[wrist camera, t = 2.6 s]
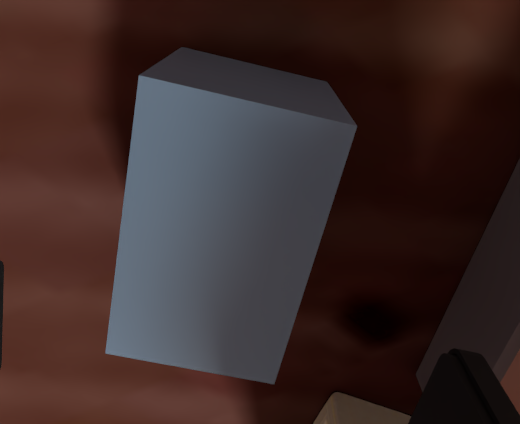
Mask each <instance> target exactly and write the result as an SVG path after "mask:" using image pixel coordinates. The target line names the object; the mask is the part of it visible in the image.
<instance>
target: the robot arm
mask: <svg viewBox="0 0 520 424" xmlns="http://www.w3.org/2000/svg"><path fill="white" fill-rule="evenodd" d="M3 280H4V265H3V262H2V261H0V368H1V360H2V320H3ZM408 424H520V415H519V413H518V411H517V410H516V408H515V407H514V405H513V403H512V402H511V400H510V398H509V397H508V395H507V394H506V392H505V390H504V389H503V387H502V385H501V384H500V382H499V381H498V379H497V377H496V376H495V374H494V372H493V371H492V369H491V368H490V366H489V364H488V363H487V361H486V359H485V358H484V357H483V356H482V354H479V353H476V352H471V351H466V350H461V349H456V348H454V349H451V350H450V351H449V352H448V353H443V354H442V355H440V357H439V359H438V361H437V363H436V365H435V367H434V369H433V372H432V374H431V376H430V378H429V380H428V382H427V384H426V386H425V389H424V391H423V393H422V395H421V397H420V399H419V401H418V403H417V406H416V408H415V410H414V412H413V414H412V416H411V418H410V420H409V423H408Z"/></svg>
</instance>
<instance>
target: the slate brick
mask: <svg viewBox="0 0 520 424" xmlns="http://www.w3.org/2000/svg"><path fill="white" fill-rule="evenodd" d="M356 129H357V125H356V123H355V122H354V120H353V119H352V118H351V116H350V115H349V113H348V112H347V110H346V109H345V107H344V106H343V104H342V103H341V101H340V100H339V98H338V97H337V95H336V94H335V92H334V91H333V89H332V88H331V87H330V85H329V84H328V82H326V81H322V80H318V79H314V78H309V77H305V76H301V75H297V74H293V73H289V72H285V71H280V70H276V69H272V68H268V67H264V66H260V65H255V64H251V63H247V62H243V61H239V60H235V59H231V58H226V57H222V56H218V55H214V54H210V53H206V52H201V51H197V50H193V49H189V48H185V47H181V48H179V49H178V50H176V51H175V52H173V53H172V54H170V55H169V56H167V57H166V58H164V59H163V60H161V61H160V62H158V63H157V64H155V65H154V66H152V67H150V68H149V69H147V70H146V71H144V72H143V73H141V74H140V75H139V78H138V86H137V95H136V103H135V111H134V120H133V128H132V136H131V145H130V153H129V161H128V170H127V178H126V186H125V195H124V203H123V211H122V220H121V228H120V236H119V245H118V253H117V261H116V270H115V278H114V286H113V295H112V303H111V311H110V319H109V328H108V336H107V344H106V354H111V355H117V356H122V357H128V358H133V359H139V360H144V361H150V362H155V363H160V364H166V365H171V366H177V367H182V368H188V369H193V370H199V371H204V372H209V373H215V374H220V375H226V376H231V377H237V378H242V379H248V380H253V381H258V382H264V383H269V384H275V380H276V377H277V374H278V371H279V368H280V365H281V362H282V359H283V356H284V353H285V349H286V346H287V343H288V340H289V337H290V334H291V331H292V328H293V325H294V321H295V318H296V315H297V312H298V309H299V306H300V303H301V300H302V297H303V293H304V290H305V287H306V284H307V281H308V278H309V275H310V272H311V269H312V265H313V262H314V259H315V256H316V253H317V250H318V247H319V244H320V241H321V238H322V234H323V231H324V228H325V225H326V222H327V219H328V216H329V213H330V210H331V206H332V203H333V200H334V197H335V194H336V191H337V188H338V185H339V182H340V178H341V175H342V172H343V169H344V166H345V163H346V160H347V157H348V154H349V151H350V147H351V144H352V141H353V138H354V135H355V132H356Z"/></svg>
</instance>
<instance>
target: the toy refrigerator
mask: <svg viewBox="0 0 520 424" xmlns="http://www.w3.org/2000/svg"><path fill="white" fill-rule="evenodd" d="M410 418H411V416H409V415H406V414H403V413H401V412H398V411H395V410H391V409H388V408H385V407H383V406H380V405H376V404H373V403H370V402H367V401H365V400H361V399H358V398H355V397H352V396H349V395H346V394H343V393H340V392H335V393H333V394H332V395H331V396H330V398H329V399H328V401H327V402H326V404H325V405H324V407H323V408H322V410H321V412H320V413H319V415H318V416H317V418H316V420H315V421H314V423H313V424H408V423H409V420H410Z"/></svg>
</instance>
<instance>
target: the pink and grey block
mask: <svg viewBox="0 0 520 424" xmlns="http://www.w3.org/2000/svg"><path fill="white" fill-rule="evenodd" d="M454 348H456V349H461V350H466V351H471V352H476V353H479V354H482V356H483V357H484V358H485V359H486V361H487V363H488V364H489V366H490V368H491V369H492V371H493V372H494V374H495V376H496V377H497V379H498V381H499V382H500V384H501V385H502V387H503V389H504V390H505V392H506V394H507V395H508V397H509V398H510V400H511V402H512V403H513V405H514V407H515V408H516V410H517V411H518V413H519V415H520V158H519V161H518V163H517V165H516V167H515V169H514V171H513V173H512V175H511V177H510V179H509V181H508V183H507V186H506V188H505V190H504V192H503V194H502V196H501V198H500V200H499V202H498V204H497V206H496V208H495V210H494V213H493V215H492V217H491V219H490V221H489V223H488V225H487V227H486V229H485V231H484V233H483V235H482V237H481V240H480V242H479V244H478V246H477V248H476V250H475V252H474V254H473V256H472V258H471V260H470V262H469V264H468V267H467V269H466V271H465V273H464V275H463V277H462V279H461V281H460V283H459V285H458V287H457V289H456V291H455V294H454V296H453V298H452V300H451V302H450V304H449V306H448V308H447V310H446V312H445V314H444V316H443V318H442V321H441V323H440V325H439V327H438V329H437V331H436V333H435V335H434V337H433V339H432V341H431V343H430V345H429V348H428V350H427V352H426V354H425V356H424V358H423V360H422V362H421V364H420V366H419V368H418V370H417V372H416V377H417V380H418V382H419V385H420V387H421V390H422V392H423V391H424V389H425V386H426V384H427V382H428V380H429V378H430V376H431V374H432V372H433V369H434V367H435V365H436V363H437V361H438V359H439V357H440V355H442V354H443V353H448V352H449V351H450V350H451V349H454Z"/></svg>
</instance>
